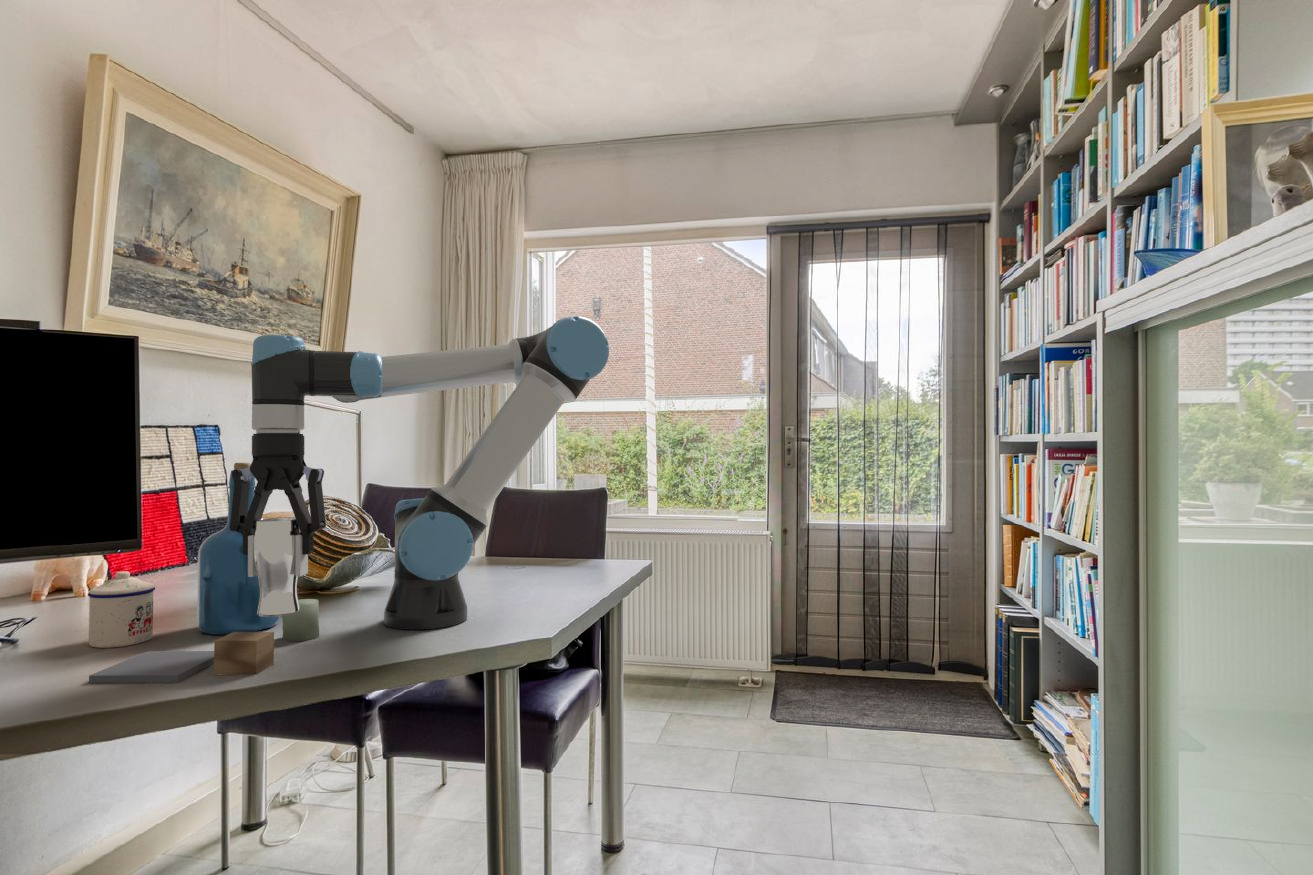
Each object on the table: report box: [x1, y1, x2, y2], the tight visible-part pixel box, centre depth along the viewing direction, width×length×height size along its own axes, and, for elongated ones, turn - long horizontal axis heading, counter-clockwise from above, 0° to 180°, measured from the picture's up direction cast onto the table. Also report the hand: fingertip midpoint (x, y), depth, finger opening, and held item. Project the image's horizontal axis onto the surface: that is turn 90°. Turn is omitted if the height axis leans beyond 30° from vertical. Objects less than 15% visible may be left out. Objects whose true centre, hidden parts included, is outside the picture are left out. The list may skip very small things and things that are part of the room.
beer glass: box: [253, 516, 300, 617], centre depth 115 cm, size 7×7×15 cm
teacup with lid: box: [87, 570, 156, 649], centre depth 122 cm, size 12×9×12 cm
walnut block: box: [213, 631, 275, 676], centre depth 106 cm, size 6×5×5 cm
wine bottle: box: [196, 462, 282, 636], centre depth 131 cm, size 14×13×30 cm
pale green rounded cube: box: [282, 598, 320, 643], centre depth 124 cm, size 6×6×6 cm
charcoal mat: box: [88, 650, 214, 684], centre depth 105 cm, size 12×12×1 cm
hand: (278, 574), depth 115 cm, fingers closed on beer glass, 7 cm apart
